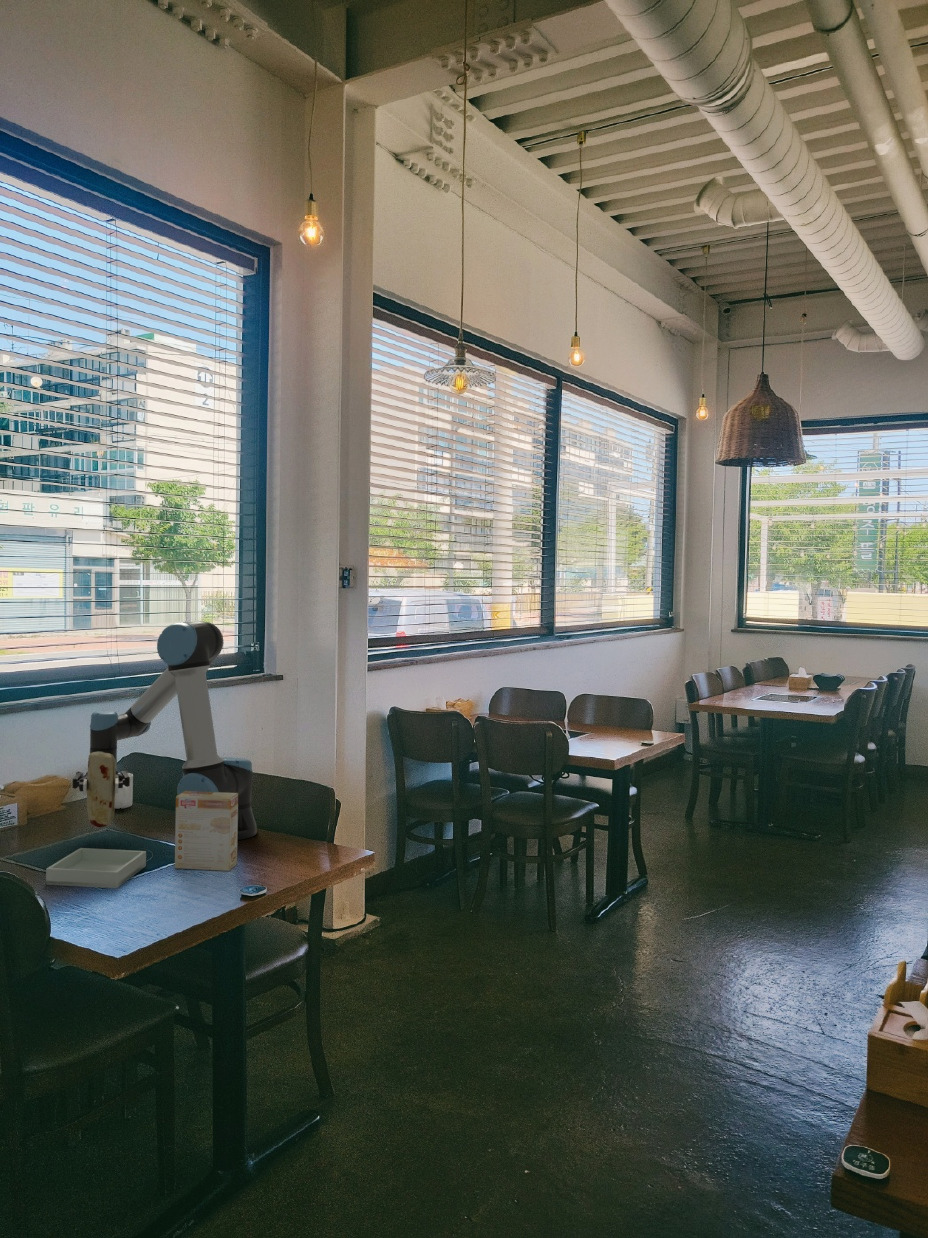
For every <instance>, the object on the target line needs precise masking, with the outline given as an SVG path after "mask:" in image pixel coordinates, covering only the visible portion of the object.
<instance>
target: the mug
mask: <svg viewBox="0 0 928 1238" xmlns="http://www.w3.org/2000/svg"><path fill="white" fill-rule="evenodd" d="M128 775H129V777H130V786H128V787H126V786H125V785H123V788H118V793H116V794H115V809H116V810H117V809H118V810H119V809H120V808H121V809H126V808H130V807H131V806H132V805H133V796H134V795H133V786H134V783H133V782H134V775H133V773H130V772H128ZM115 809H114V810H115Z"/></svg>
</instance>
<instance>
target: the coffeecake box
mask: <svg viewBox="0 0 928 1238" xmlns="http://www.w3.org/2000/svg"><path fill="white" fill-rule="evenodd" d="M174 825H175V833H174V836H175V838H174V869H178V870H179V869H181V870H182V869H185V870H200V871H202V870H204V871H221V872H222V871H223V872H225V871H226V872H230V871H232V869H233V868H234V867H235V866H236V865H237V864H238V840H237V831H238V793H221V792H196V791H184V792H182V793H181V794H179V795H178V794H177V795H176V796H175V824H174Z"/></svg>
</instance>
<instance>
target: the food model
mask: <svg viewBox="0 0 928 1238" xmlns="http://www.w3.org/2000/svg"><path fill="white" fill-rule="evenodd" d="M87 759H88V763H87V772H88V773H87V772H86V773H87V792H86V811H87V817H88V821H89V823H90V824H91V825H92V826H94V827H97V828H103V827H109V826H110V824H112V822H113V820H114V818H115V780H116V771H117V766H116V763H115V759H114V756H113V755H112V754H110V753H104V752H93V753H90V752H89V755H88V758H87Z"/></svg>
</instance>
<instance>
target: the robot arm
mask: <svg viewBox="0 0 928 1238" xmlns="http://www.w3.org/2000/svg"><path fill="white" fill-rule="evenodd" d="M223 648H224V636H223V634H222V632H221V630H220V629H219V627H218V626H216V625H215V624H214V623H212V622H209V621H202V620H201V621H187V622H185V621H183V622H177V623H173V624H169V625H168V626H167V627H165V628H164V629H163V630H162V631H161V633H160V634H159V636H158V638H157V642H156V649H157V654H158V657H159V658H160V660H162V661H163V663H165V664H166V665H167V668H166V669H165V670H164V671H163V672H162V673H161V674H160V675H159V676H158V678H156V679H155V681H154V682H153V683H152V684H150V686H149V687H148V688H147V689H146V690H145V691H144V692H143V693H142V694H141V695H140V697H138V698H137V700H136V701H135V702H134V703H133V704H132V705H131V706H130V707H129V708H127V709H128V710H126V712H125V713H121V714H118V713H117V712H116V711H115V710H97V711H94V712H92V713H91V715H90V724H89V729H90V730H89V734H90V735H89V736H90V737H89V741H90V742H89V754H90V753H93V752H104V753H110V754H112V755H113V756H114V759H115V763H116V767H117V765H118V758H117V757H118V755H117V753H118V741H121V740H126V739H129V738H133V737H139V736H142V735H145V734H146V733H148V732H149V730H150V728H151V725H152V721H153V720H154V719H155V717H157V716H158V714H159V713H160V712H162V711H163V709H165V707H166V706H167V705H168V704H169V703H170V702H171V701H172V700H173V699H174V698H175V697H176V696H177V700H178V701H177V702H178V707H179V708H178V709H179V715H180V722H181V728H182V738H183V744H184V750H185V758H186V760H185V762H184V763H183V765H182V767H181V769H182V777H181V778H180V780H179V782H178V783H177V788H176V789H177V790H176V791H177V796H178V795H179V794H181V793H182V792H184V791H196V792H221V793H238V831H237V841H240V840H246V839H250V838H252V837H254V836H256V835H257V831H258V830H257V829H258V827H257V823H256V820H255V817H254V813H253V810H252V794H253V793H252V790H253V789H252V787H253V786H252V785H253V765H252V761H251V760H250V759H248V758H241V757H222V756H221V757H220V756H219V755H218V750H217V749H218V748H217V743H216V742H217V741H216V737H215V729H214V728H215V727H214V721H213V715H212V707H211V701H210V700H211V699H210V695H209V688H208V687H209V685H208V680H207V671H208V670H209V669H210V667H211V664H212V663H213V662H214V661H215V660H216V659H217V658H218V657H219V655H220V654H221V652H222V650H223ZM87 773H88V771H87V772H86V773H84V772H81V771H76V772H75V776H74V777H73V778H72V787H71V788H72V789H74V790H75V789H78V790H79V792H82V795H83V796H85V795H86V796H87ZM128 773H129V772H128V770H125V769H124V770H122V771H121V770H120V772H119V771H118V770H116V780H115V794H116V793H118V788H123V785H125V786H126V787H128V786H130V777H129V775H128Z"/></svg>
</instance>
